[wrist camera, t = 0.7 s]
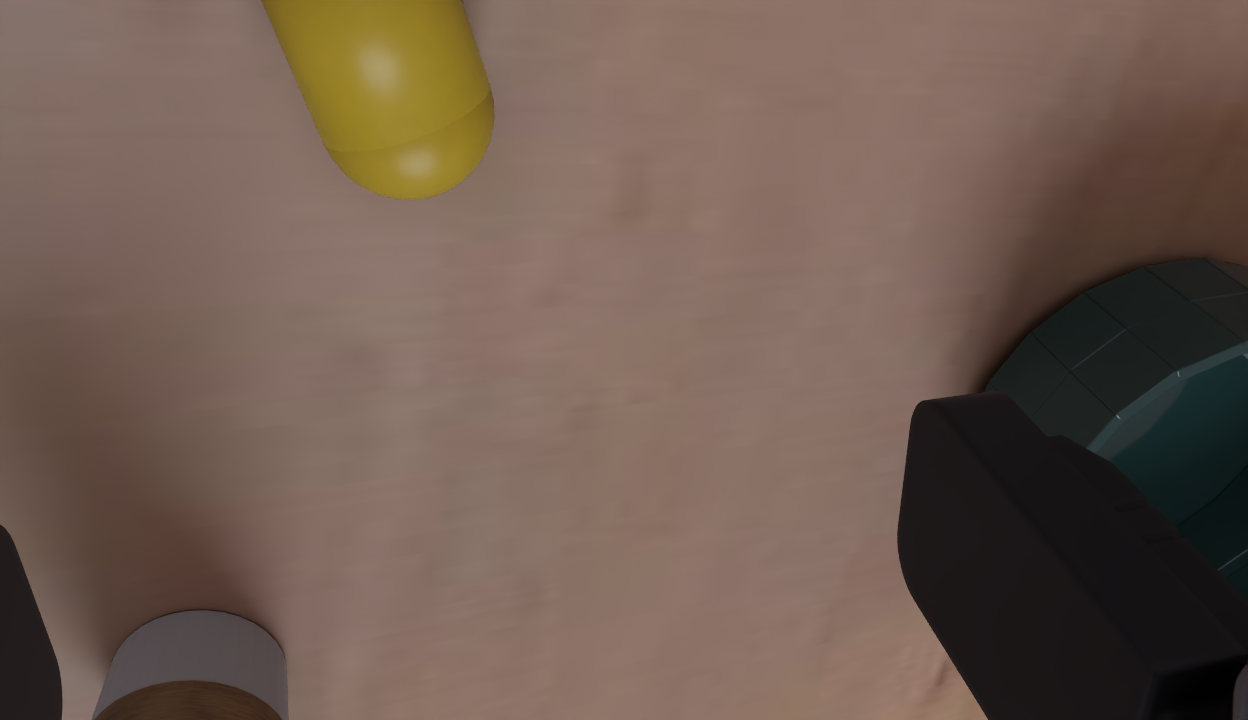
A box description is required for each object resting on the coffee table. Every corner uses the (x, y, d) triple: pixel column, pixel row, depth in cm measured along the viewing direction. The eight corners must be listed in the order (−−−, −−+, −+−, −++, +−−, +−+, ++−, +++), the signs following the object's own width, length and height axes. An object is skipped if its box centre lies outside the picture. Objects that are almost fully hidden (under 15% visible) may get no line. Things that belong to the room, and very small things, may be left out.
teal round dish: (1049, 222, 39) (1153, 303, 34) (1366, 283, 43) (1501, 364, 38) (898, 550, 45) (967, 661, 40) (1188, 576, 49) (1284, 680, 44)
